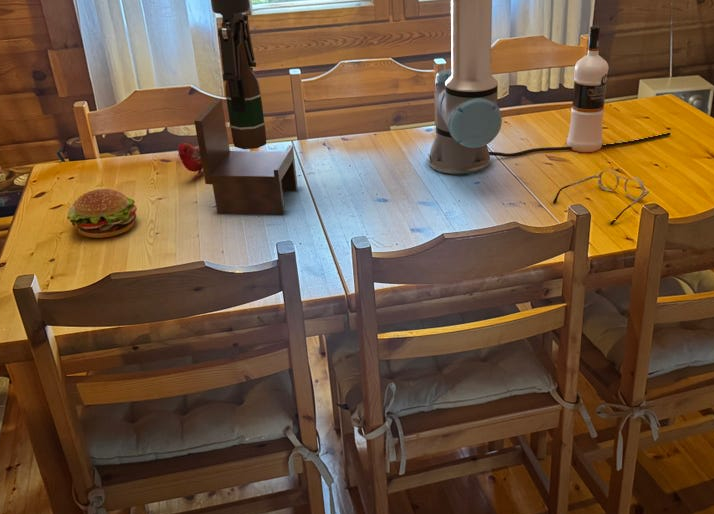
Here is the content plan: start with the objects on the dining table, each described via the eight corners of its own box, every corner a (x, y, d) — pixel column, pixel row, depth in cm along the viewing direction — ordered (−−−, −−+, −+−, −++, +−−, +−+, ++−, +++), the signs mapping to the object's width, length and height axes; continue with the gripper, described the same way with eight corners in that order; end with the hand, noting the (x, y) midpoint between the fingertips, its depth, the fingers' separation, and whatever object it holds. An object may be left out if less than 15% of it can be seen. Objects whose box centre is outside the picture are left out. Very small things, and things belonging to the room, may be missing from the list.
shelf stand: (297, 188, 193) (287, 99, 181) (283, 215, 181) (271, 121, 169) (229, 187, 194) (215, 98, 182) (210, 213, 182) (194, 120, 170)
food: (88, 213, 183) (79, 179, 179) (148, 215, 182) (140, 181, 177) (58, 240, 172) (48, 205, 167) (122, 242, 170) (114, 207, 166)
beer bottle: (260, 150, 176) (244, 34, 163) (226, 148, 177) (208, 33, 164) (273, 138, 182) (259, 25, 169) (240, 136, 184) (224, 24, 170)
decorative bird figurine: (179, 187, 195) (171, 146, 189) (214, 160, 209) (208, 122, 203) (190, 188, 194) (182, 147, 188) (224, 161, 208) (218, 122, 203)
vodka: (580, 138, 218) (591, 20, 202) (609, 146, 213) (622, 26, 196) (559, 147, 213) (568, 26, 196) (587, 156, 208) (599, 33, 191)
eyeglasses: (653, 204, 183) (656, 183, 180) (613, 225, 174) (615, 204, 171) (591, 184, 193) (593, 163, 190) (550, 203, 184) (552, 182, 181)
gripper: (224, -20, 171) (240, 90, 184) (194, 0, 154) (213, 120, 167) (260, -20, 170) (273, 90, 183) (233, 0, 153) (249, 120, 166)
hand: (244, 104), depth 175 cm, fingers closed on beer bottle, 8 cm apart
